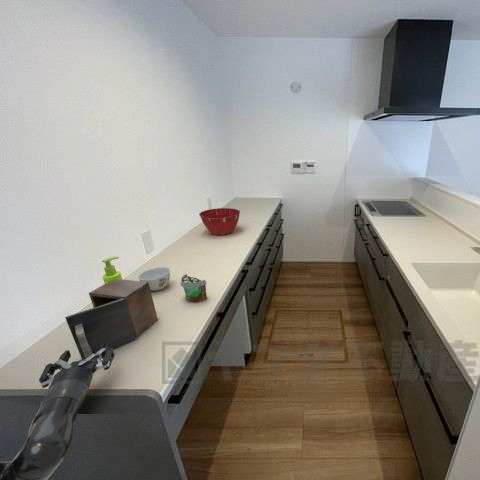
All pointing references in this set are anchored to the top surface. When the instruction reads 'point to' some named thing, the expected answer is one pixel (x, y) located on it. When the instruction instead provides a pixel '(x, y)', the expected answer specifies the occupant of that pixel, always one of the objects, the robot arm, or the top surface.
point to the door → (101, 327)
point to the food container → (194, 288)
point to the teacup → (156, 278)
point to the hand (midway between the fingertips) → (87, 347)
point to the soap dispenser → (110, 270)
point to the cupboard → (129, 301)
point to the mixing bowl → (220, 220)
